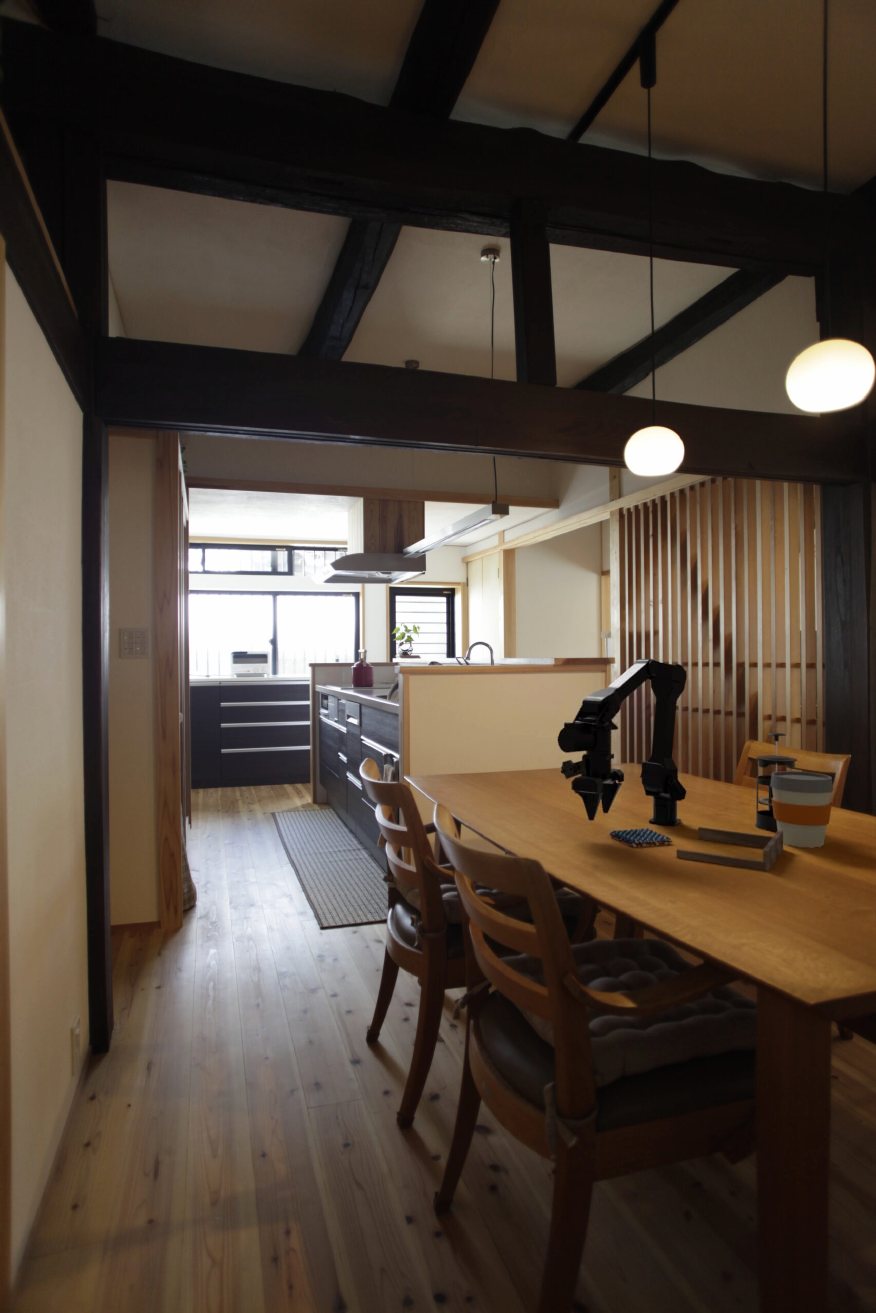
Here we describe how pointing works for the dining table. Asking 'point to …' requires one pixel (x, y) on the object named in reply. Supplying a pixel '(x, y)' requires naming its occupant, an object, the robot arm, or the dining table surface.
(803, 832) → the reusable coffee cup
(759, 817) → the french press
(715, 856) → the box
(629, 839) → the woven mat
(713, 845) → the dining table surface
